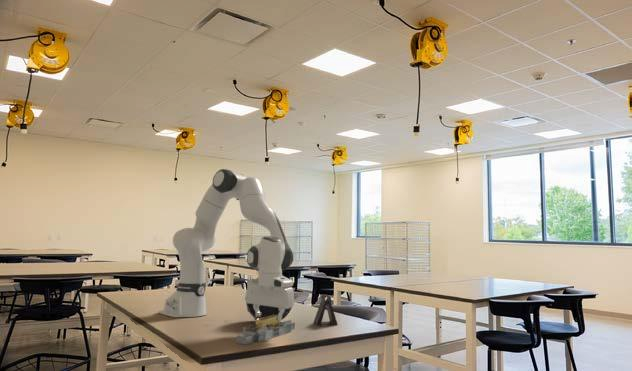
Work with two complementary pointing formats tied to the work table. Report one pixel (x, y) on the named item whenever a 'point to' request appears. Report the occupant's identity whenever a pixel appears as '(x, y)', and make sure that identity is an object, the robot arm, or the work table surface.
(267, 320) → the tan notched block
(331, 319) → the brown a-shaped stand
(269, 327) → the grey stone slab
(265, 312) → the dark grey short cylinder
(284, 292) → the robot arm
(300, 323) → the work table surface
